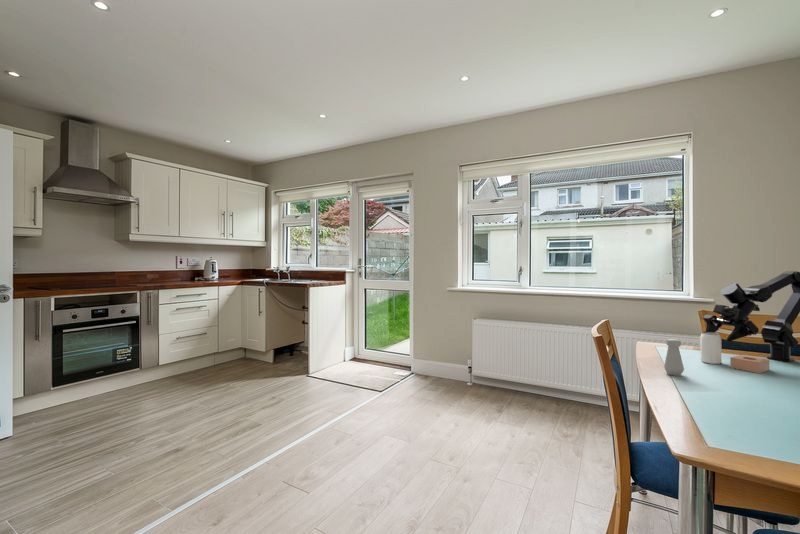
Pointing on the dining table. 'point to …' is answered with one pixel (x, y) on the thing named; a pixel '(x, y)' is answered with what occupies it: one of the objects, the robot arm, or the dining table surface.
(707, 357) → the can
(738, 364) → the peach block
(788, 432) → the dining table surface
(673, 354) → the salt shaker
